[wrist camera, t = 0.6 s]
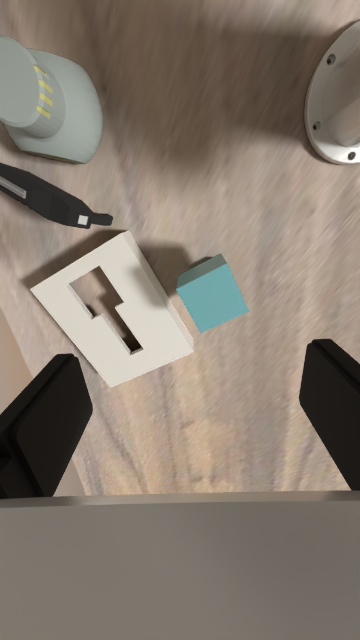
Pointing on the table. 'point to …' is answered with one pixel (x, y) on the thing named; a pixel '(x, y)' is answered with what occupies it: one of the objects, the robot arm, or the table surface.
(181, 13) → the table surface
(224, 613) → the robot arm
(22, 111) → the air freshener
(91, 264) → the keyhole deck
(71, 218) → the black striped sneaker
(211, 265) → the slider
